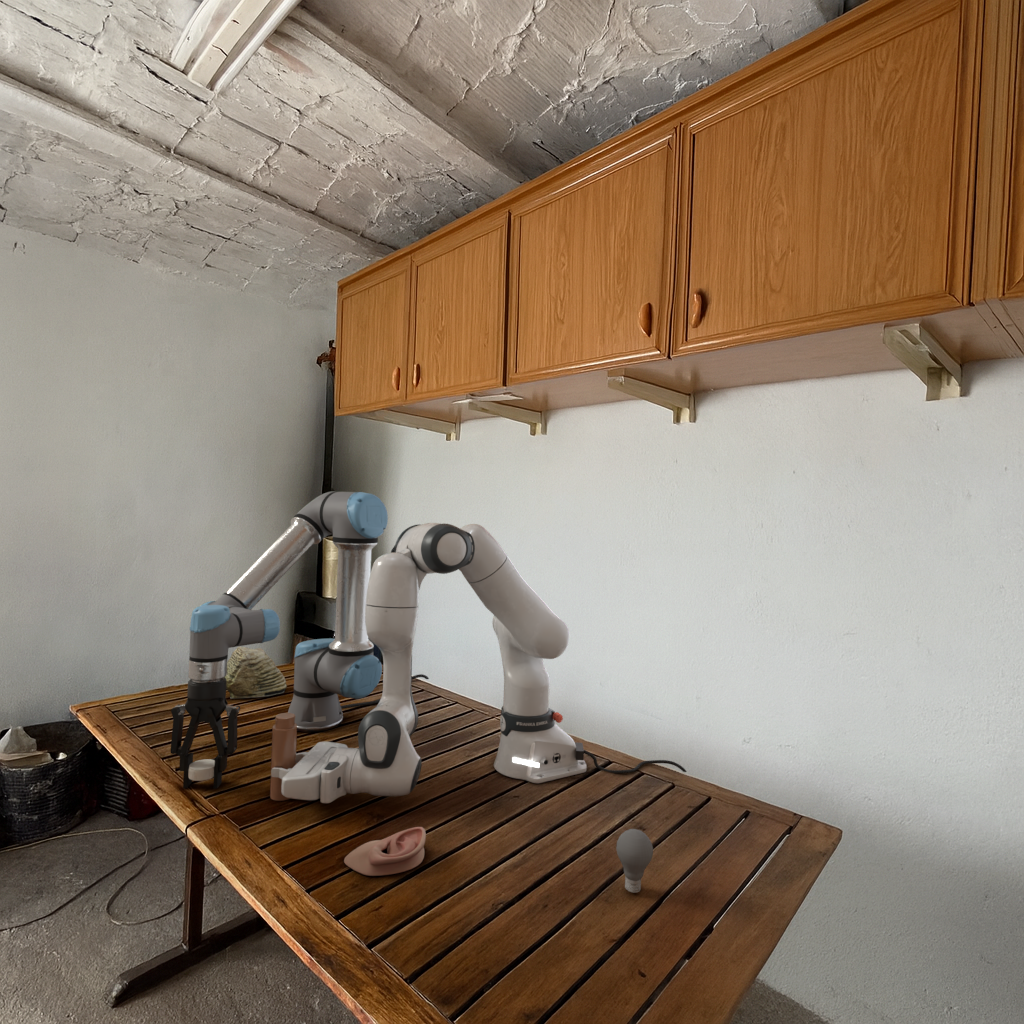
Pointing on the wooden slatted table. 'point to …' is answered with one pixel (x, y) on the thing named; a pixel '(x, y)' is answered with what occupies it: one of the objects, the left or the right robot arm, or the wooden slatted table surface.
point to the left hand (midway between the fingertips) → (202, 785)
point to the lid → (201, 770)
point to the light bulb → (634, 857)
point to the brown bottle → (282, 750)
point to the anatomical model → (389, 853)
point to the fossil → (253, 674)
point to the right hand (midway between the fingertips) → (279, 764)
